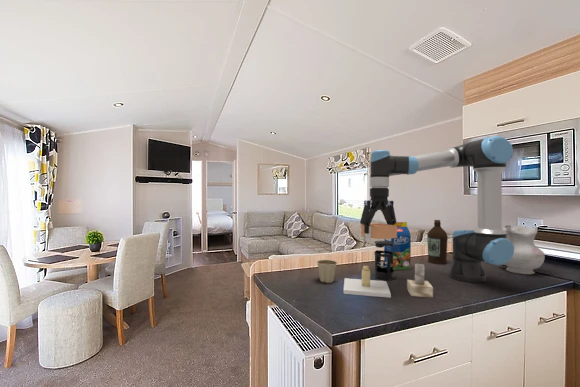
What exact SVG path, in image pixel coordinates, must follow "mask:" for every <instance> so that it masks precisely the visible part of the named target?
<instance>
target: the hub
mask: <svg viewBox="0 0 580 387" xmlns="http://www.w3.org/2000/svg"><path fill="white" fill-rule="evenodd" d="M343 294H344V295H354V296H367V297H380V298H389V299H390V298H392V296H391V295H392V294H391V290H390V288H389V285H388V283H387V280H375V279H371V269H370V266H369V265H363V266H362V268H361V279H360V278H359V279H358V278H347V277H344V282H343Z"/></svg>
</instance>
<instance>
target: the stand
mask: <svg viewBox="0 0 580 387" xmlns="http://www.w3.org/2000/svg"><path fill="white" fill-rule="evenodd" d="M406 290H407V291H408V293H409V295H410V296H411V297H423V298H432V299H433V298H434V287H433V286H432V284H431V283H430V282H429V281H428V280H425V264H423V263H414V279H406Z"/></svg>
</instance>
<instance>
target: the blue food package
mask: <svg viewBox="0 0 580 387" xmlns="http://www.w3.org/2000/svg"><path fill="white" fill-rule="evenodd" d="M394 225H395V226H397V238H391V241H390V242H394V244H393V247H391V246H384V247H383V251H390V252H393V253H394V256H393V271H399V270H400V271H402V270H409V269H411V258H412V257H411V256H412V255H411V249H412V248H411V246H412V244H411V243H412V242H411V239H412V238H411V232H410V229H409V228H408V222H407V221H400V222H399V221H396V223H395V224H394ZM384 241H388V240H385V239H384ZM383 254H386V253H383ZM383 261H385V262H387V257H383ZM384 268H387V267H384Z"/></svg>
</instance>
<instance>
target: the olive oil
mask: <svg viewBox="0 0 580 387" xmlns="http://www.w3.org/2000/svg"><path fill="white" fill-rule="evenodd" d="M433 224H434V226H432V228H431V229H430V230H429V231H428V233H427V235H426V236H427V237H426V238H427V257H428V259H427V260H428V263H431V264H435V265H446V264H447V253H448V251H447V250H448V240H449V239H448V238H449V236H448V234H447V232H446V230H444V228H442V227H441V225H442V224H441V220H440V219H434V221H433Z"/></svg>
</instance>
